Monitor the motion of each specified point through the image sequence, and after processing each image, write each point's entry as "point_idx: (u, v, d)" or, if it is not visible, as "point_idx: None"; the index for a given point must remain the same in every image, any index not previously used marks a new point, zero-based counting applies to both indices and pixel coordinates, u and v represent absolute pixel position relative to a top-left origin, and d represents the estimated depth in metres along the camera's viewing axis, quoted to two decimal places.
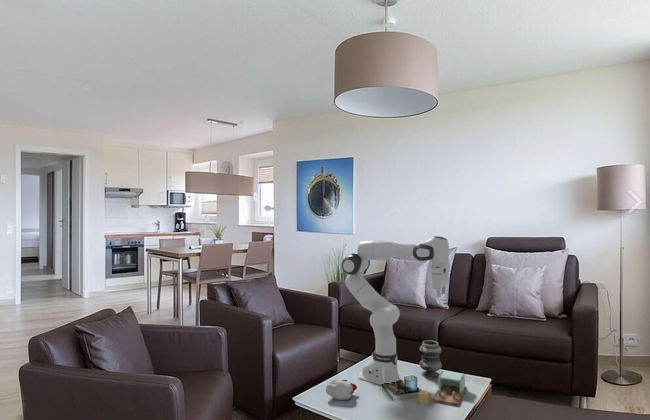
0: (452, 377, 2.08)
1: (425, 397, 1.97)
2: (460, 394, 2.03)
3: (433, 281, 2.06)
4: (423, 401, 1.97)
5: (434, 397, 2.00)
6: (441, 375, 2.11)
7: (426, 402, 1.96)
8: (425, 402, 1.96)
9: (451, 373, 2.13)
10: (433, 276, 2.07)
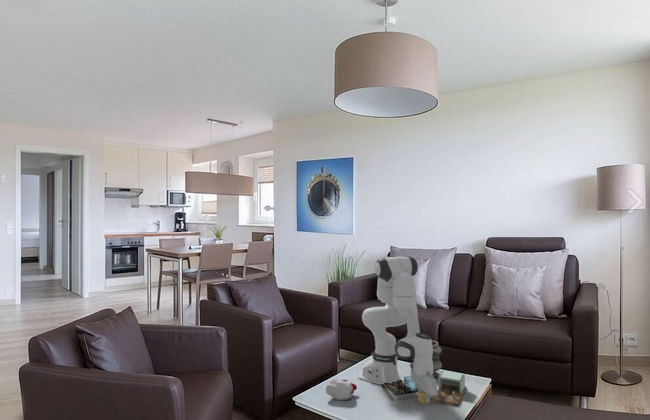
0: (452, 377, 2.08)
1: None
2: (460, 394, 2.03)
3: None
4: (423, 401, 1.97)
5: (434, 397, 2.00)
6: (441, 375, 2.11)
7: (426, 402, 1.96)
8: (425, 402, 1.96)
9: (451, 373, 2.13)
10: None
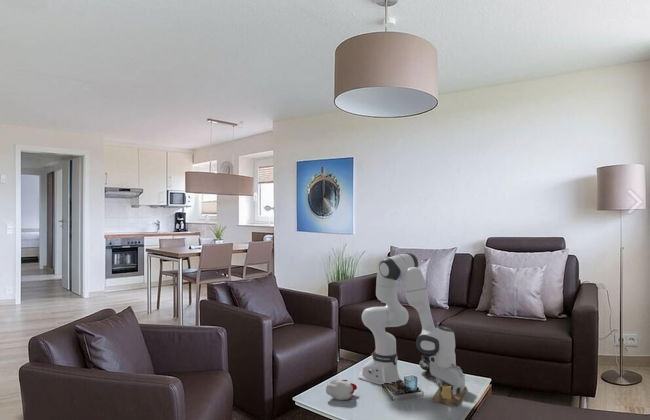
0: None
1: (449, 392, 1.99)
2: (460, 394, 2.03)
3: None
4: (447, 396, 1.99)
5: (434, 397, 2.00)
6: None
7: (450, 397, 1.98)
8: (449, 397, 1.99)
9: None
10: None
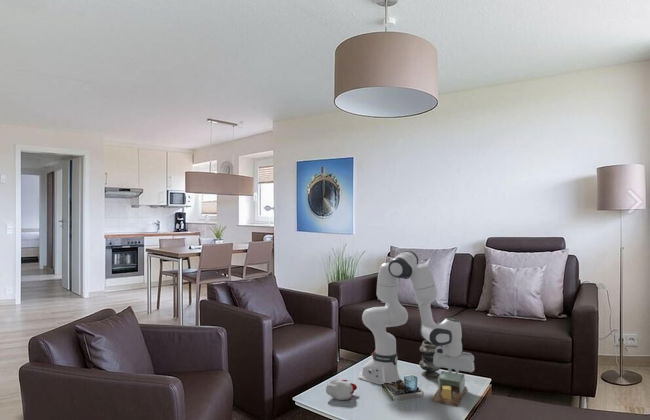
0: (452, 377, 2.07)
1: (449, 392, 1.99)
2: (460, 394, 2.03)
3: None
4: (447, 396, 1.99)
5: (434, 397, 2.00)
6: (441, 375, 2.10)
7: (450, 397, 1.98)
8: (449, 397, 1.99)
9: (451, 373, 2.12)
10: None
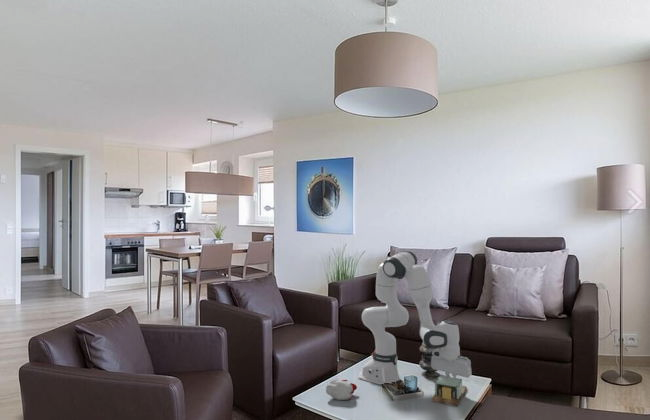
0: (449, 382, 2.02)
1: (449, 392, 1.99)
2: None
3: None
4: (447, 396, 1.99)
5: (434, 397, 2.00)
6: (438, 380, 2.04)
7: (450, 397, 1.98)
8: (449, 397, 1.99)
9: (448, 378, 2.07)
10: None
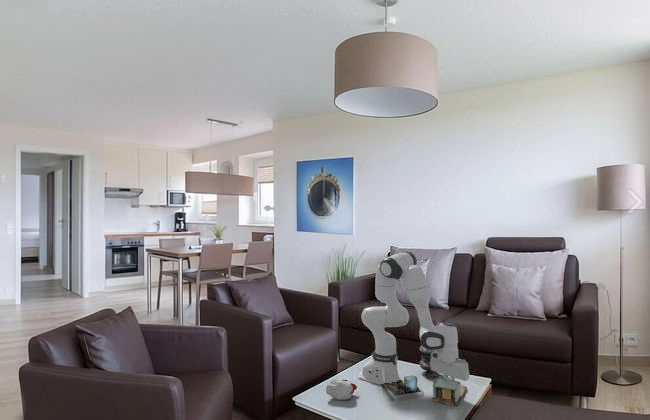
0: (447, 385, 1.98)
1: (449, 392, 1.99)
2: None
3: None
4: (447, 396, 1.99)
5: None
6: (436, 383, 2.01)
7: (450, 397, 1.98)
8: (449, 397, 1.99)
9: (446, 381, 2.03)
10: None
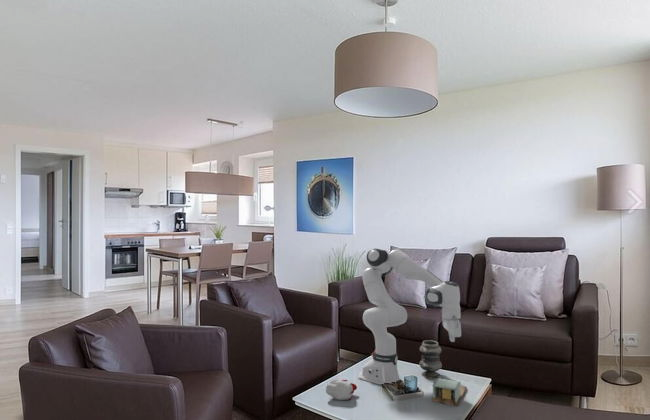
0: (447, 385, 1.98)
1: (449, 392, 1.99)
2: None
3: None
4: (447, 396, 1.99)
5: None
6: (436, 383, 2.01)
7: (450, 397, 1.98)
8: (449, 397, 1.99)
9: (446, 381, 2.03)
10: None
